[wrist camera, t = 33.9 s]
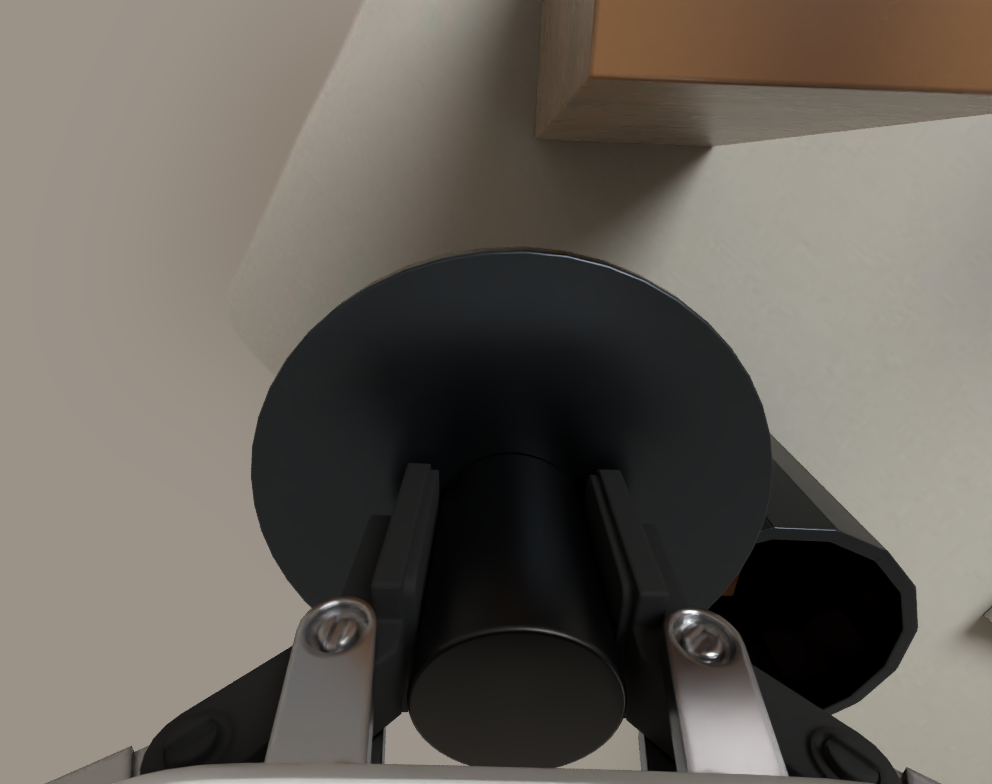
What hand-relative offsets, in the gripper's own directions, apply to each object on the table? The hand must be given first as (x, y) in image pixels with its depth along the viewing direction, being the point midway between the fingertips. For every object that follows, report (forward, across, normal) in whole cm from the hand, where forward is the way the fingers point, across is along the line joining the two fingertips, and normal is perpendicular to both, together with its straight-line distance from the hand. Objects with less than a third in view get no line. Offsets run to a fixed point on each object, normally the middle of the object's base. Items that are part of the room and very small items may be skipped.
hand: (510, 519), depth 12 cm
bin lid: (+1, 0, 0) cm, 1 cm away
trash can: (+18, -12, +10) cm, 23 cm away
